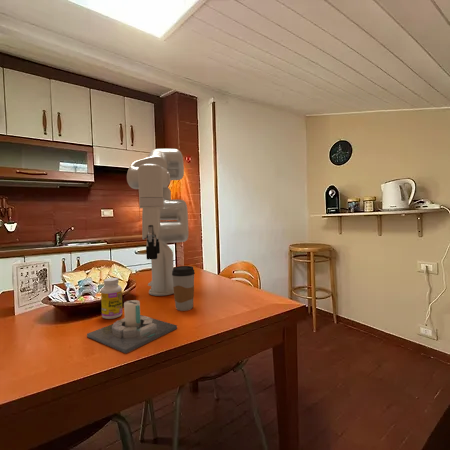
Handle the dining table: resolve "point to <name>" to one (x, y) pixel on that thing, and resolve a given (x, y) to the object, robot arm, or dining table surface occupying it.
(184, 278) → the coffee cup
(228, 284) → the dining table surface
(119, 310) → the supplement bottle
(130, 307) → the knob
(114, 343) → the hub plate
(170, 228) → the robot arm
